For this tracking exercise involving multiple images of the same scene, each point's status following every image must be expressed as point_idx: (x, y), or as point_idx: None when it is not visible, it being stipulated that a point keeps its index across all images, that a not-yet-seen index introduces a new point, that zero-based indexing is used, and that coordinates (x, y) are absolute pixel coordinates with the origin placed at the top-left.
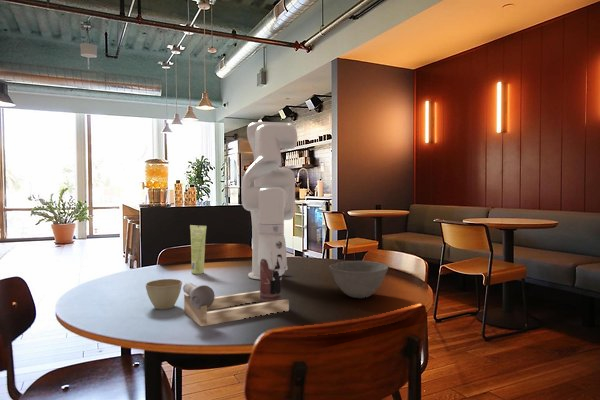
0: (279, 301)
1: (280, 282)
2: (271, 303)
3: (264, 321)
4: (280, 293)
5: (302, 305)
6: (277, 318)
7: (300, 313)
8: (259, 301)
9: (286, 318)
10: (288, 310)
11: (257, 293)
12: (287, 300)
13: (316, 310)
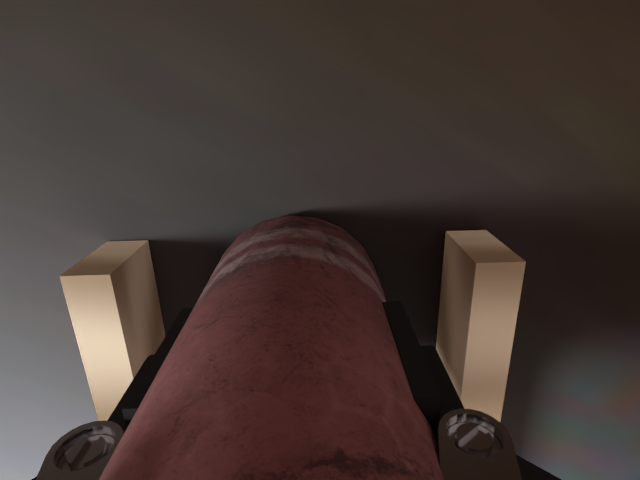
0: (505, 344)
1: (430, 371)
2: (500, 406)
3: (561, 436)
4: (363, 275)
5: (426, 47)
6: (569, 361)
7: (593, 186)
8: (160, 313)
9: (609, 319)
10: (485, 233)
11: (136, 368)
12: (523, 276)
13: (628, 18)
